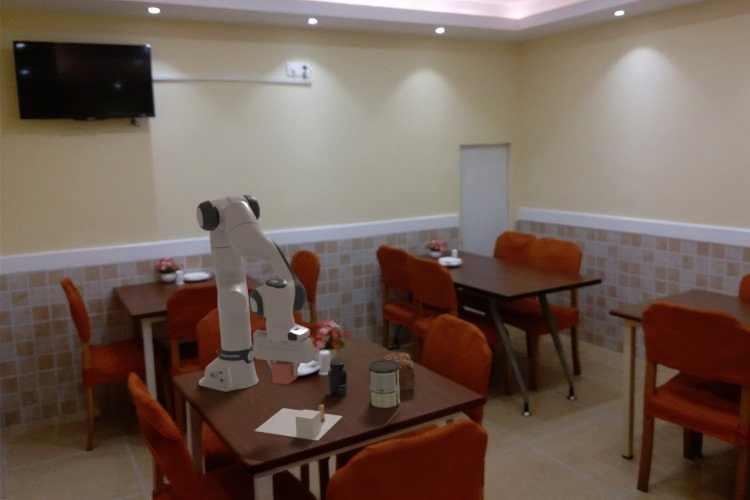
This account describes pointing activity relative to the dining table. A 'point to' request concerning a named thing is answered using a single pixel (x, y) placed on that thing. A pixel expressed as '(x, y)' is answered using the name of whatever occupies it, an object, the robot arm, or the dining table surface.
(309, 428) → the pale grey cube
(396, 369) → the coffee can
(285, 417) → the plate
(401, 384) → the bread
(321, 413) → the bronze cylinder
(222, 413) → the dining table surface
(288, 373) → the salmon red cube
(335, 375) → the supplement bottle
